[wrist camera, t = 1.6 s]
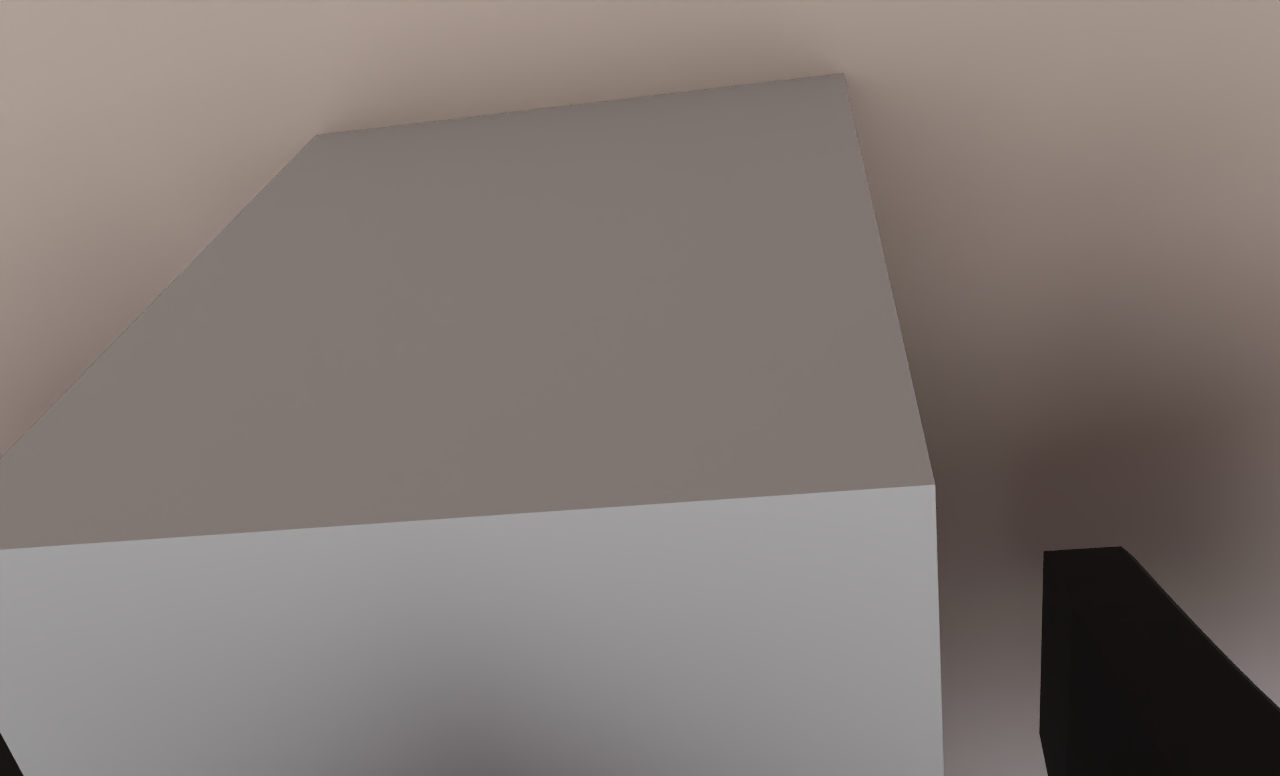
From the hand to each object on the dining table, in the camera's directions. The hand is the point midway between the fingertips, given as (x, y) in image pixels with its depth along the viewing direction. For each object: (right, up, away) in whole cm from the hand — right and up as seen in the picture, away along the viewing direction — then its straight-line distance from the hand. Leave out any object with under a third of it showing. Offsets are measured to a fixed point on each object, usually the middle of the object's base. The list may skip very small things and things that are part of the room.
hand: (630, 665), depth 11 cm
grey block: (0, +1, +2) cm, 2 cm away
